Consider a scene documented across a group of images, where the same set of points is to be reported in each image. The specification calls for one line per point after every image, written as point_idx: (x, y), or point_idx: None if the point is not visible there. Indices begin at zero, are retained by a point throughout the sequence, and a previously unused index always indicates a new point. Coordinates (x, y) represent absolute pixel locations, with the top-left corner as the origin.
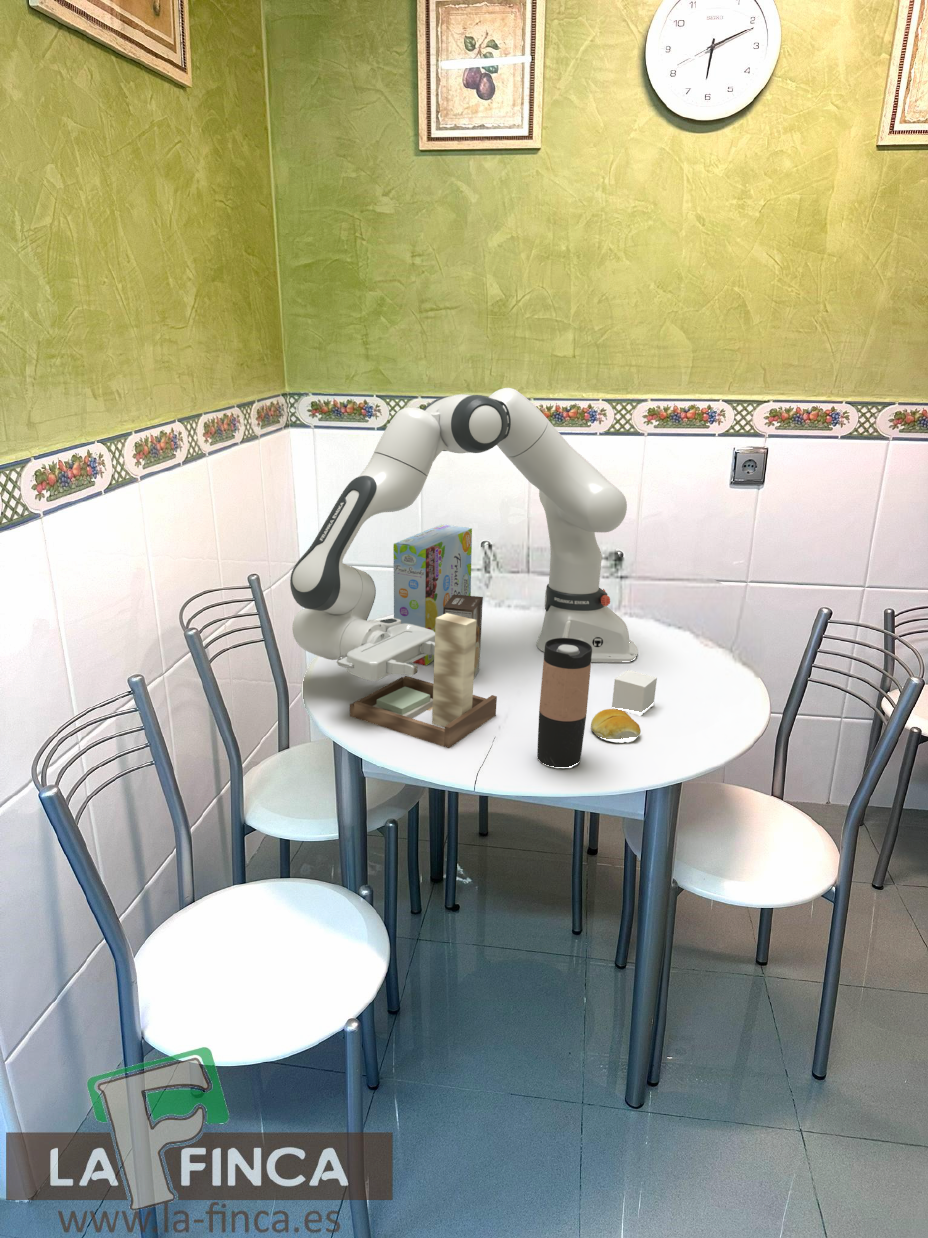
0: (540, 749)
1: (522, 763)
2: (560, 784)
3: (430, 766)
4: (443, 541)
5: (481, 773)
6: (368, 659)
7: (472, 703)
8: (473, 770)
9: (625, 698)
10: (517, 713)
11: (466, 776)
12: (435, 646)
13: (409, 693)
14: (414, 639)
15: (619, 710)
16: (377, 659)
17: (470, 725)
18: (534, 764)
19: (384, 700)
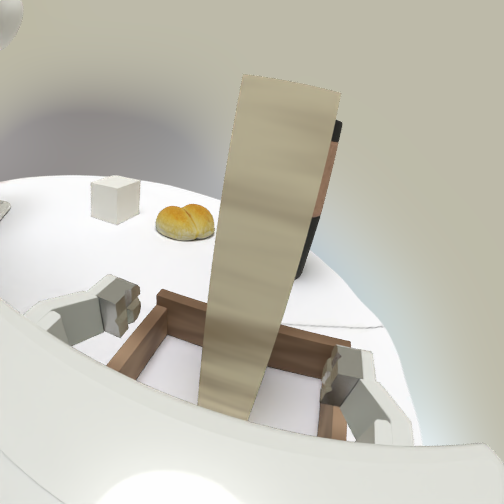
0: (300, 263)
1: (309, 292)
2: (328, 267)
3: (395, 379)
4: None
5: (363, 324)
6: (500, 484)
7: (147, 345)
8: (364, 333)
9: (127, 204)
10: (142, 297)
11: (382, 336)
12: (308, 226)
13: None
14: (35, 365)
15: (172, 206)
16: (476, 457)
17: None
18: (303, 283)
19: None
